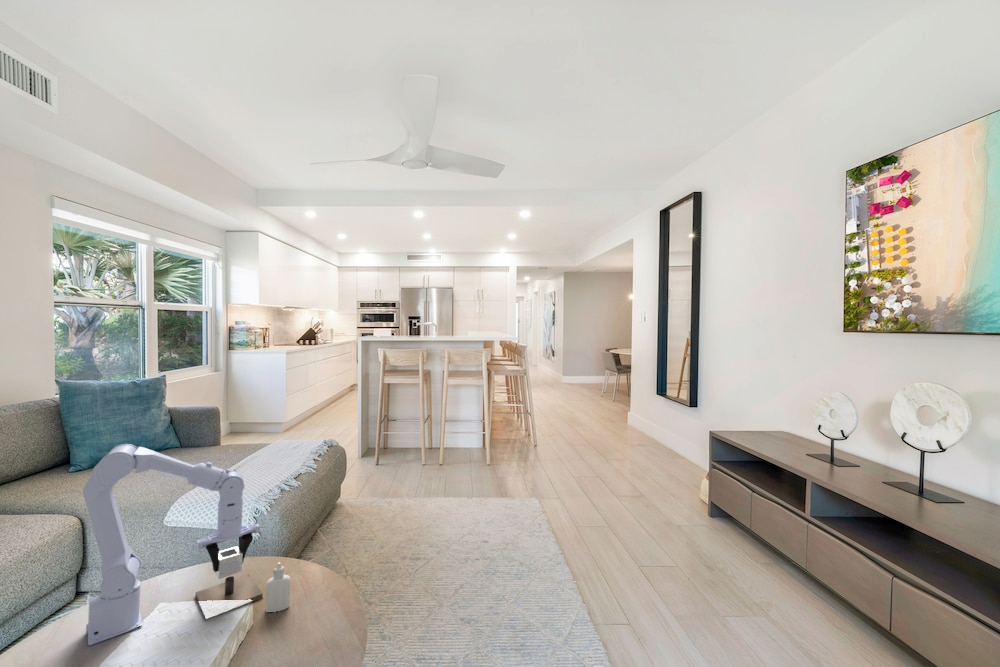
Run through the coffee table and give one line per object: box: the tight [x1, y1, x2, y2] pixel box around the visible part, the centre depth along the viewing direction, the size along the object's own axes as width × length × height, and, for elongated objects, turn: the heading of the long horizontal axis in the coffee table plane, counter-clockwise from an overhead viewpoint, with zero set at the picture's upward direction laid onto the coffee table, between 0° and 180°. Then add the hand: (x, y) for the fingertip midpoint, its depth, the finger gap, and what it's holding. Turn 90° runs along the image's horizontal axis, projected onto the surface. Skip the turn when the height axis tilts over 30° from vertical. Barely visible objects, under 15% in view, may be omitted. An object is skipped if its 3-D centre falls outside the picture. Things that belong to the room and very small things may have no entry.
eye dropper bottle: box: [265, 562, 291, 613], centre depth 109 cm, size 4×6×12 cm
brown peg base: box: [195, 573, 264, 602], centre depth 113 cm, size 13×13×5 cm
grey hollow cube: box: [214, 545, 243, 580], centre depth 114 cm, size 5×5×5 cm
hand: (228, 566), depth 114 cm, fingers closed on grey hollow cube, 5 cm apart
